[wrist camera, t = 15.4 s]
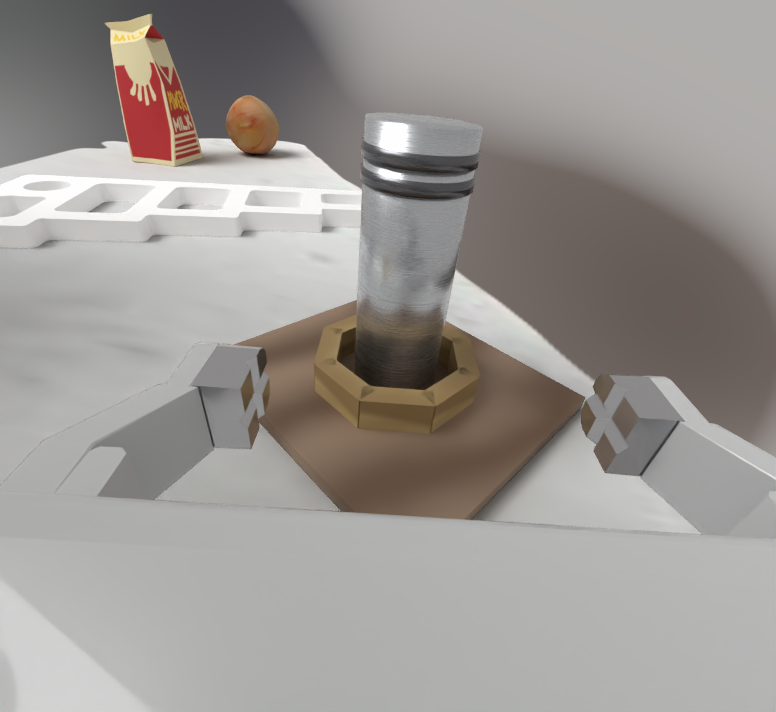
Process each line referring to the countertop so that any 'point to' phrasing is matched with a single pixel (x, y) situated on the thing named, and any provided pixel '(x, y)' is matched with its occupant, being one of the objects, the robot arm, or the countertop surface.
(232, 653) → the robot arm
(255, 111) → the onion
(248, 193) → the holder
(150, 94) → the milk carton
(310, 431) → the ring stand
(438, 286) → the piston
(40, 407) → the countertop surface
